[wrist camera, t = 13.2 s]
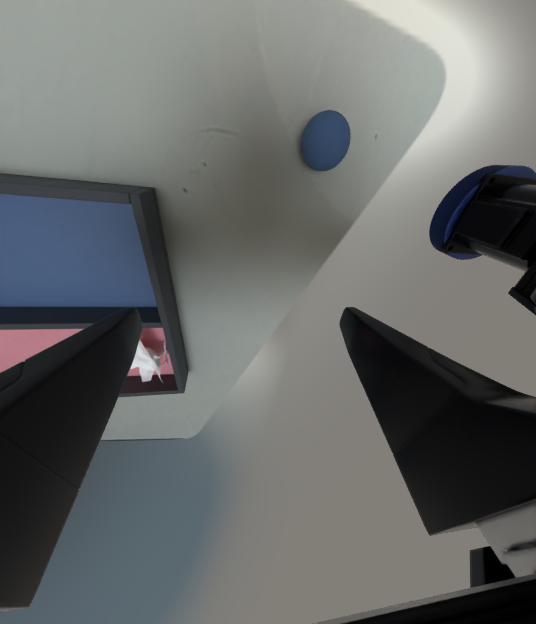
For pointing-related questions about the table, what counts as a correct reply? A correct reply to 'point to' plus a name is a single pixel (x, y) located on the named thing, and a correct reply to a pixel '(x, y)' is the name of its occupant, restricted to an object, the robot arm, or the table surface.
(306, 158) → the slate ball
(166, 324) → the tray
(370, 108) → the table surface
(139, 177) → the table surface
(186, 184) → the table surface
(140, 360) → the white bird figurine
